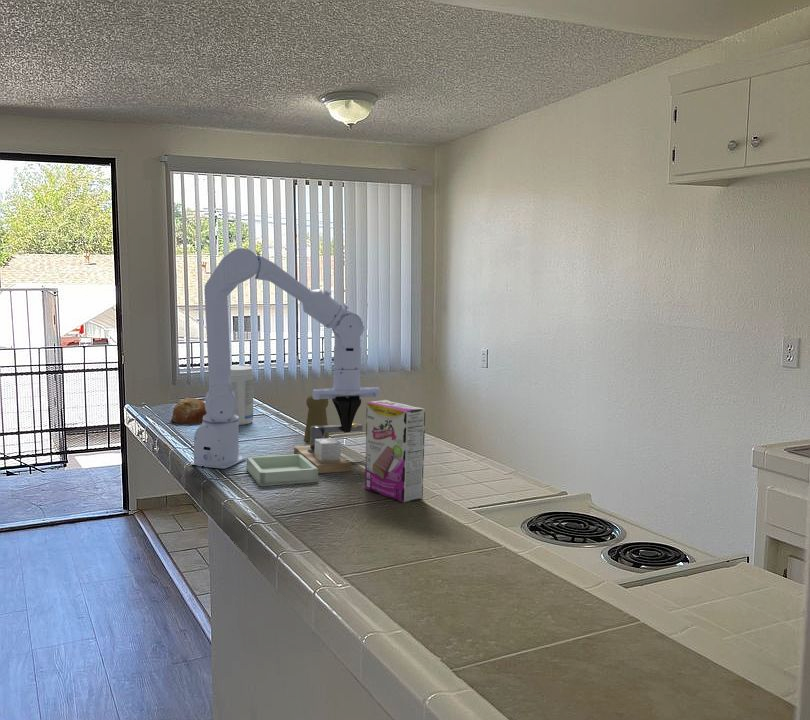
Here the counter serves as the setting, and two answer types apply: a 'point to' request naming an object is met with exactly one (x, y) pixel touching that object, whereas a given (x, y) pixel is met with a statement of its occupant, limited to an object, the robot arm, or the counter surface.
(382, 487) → the candy bar box
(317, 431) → the lever
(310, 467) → the tray
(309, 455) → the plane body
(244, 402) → the supplement tub
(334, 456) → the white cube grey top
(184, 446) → the counter surface
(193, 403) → the bread roll
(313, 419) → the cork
